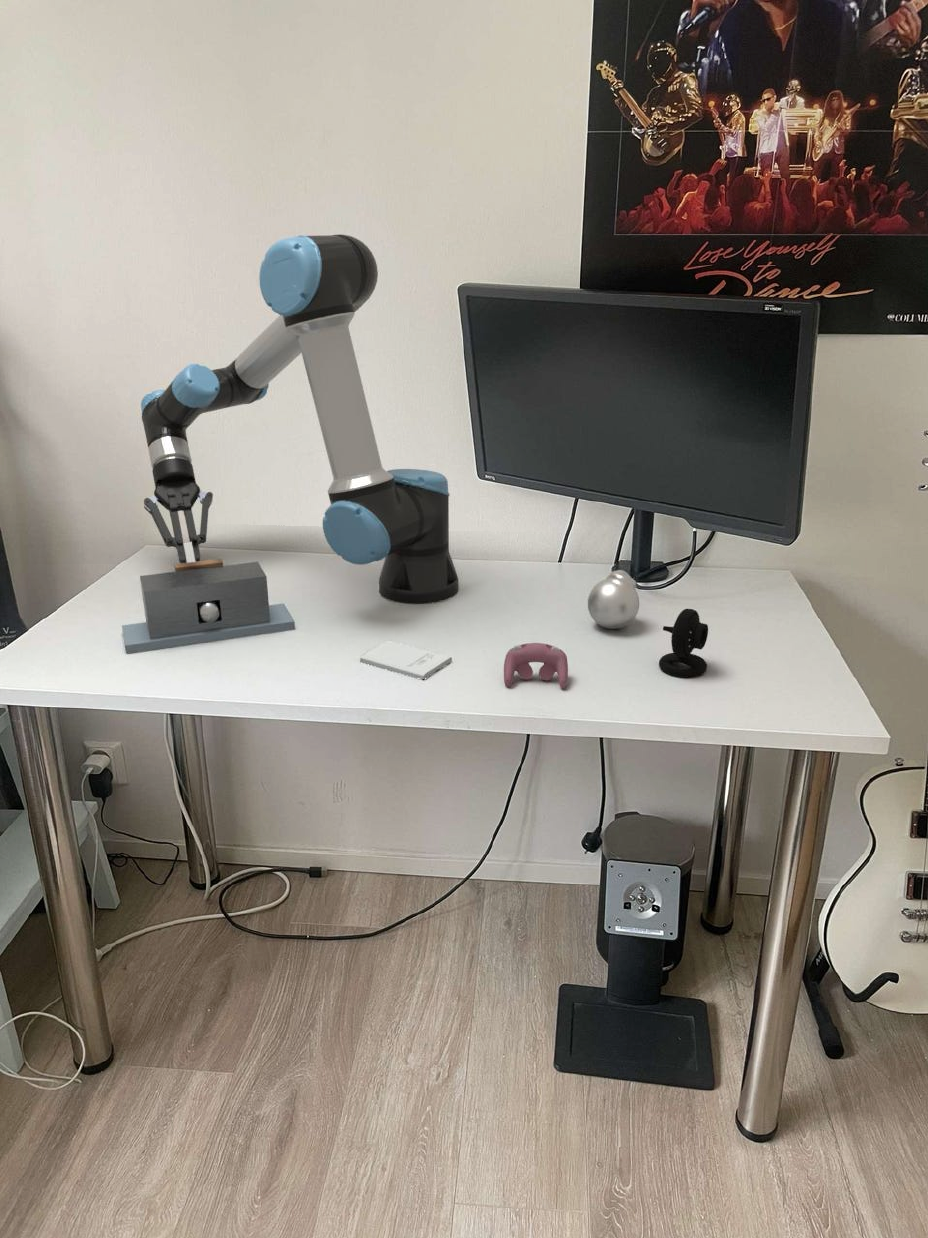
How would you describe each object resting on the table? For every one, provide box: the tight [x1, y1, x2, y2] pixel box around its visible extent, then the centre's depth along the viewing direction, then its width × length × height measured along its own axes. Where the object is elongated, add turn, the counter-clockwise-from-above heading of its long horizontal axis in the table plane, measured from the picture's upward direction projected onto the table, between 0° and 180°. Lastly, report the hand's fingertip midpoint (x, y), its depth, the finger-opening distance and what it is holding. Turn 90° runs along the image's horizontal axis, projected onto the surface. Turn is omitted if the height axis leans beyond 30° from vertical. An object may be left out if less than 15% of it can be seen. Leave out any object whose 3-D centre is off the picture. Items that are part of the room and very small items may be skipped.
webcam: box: [658, 608, 709, 679], centre depth 158 cm, size 8×8×10 cm
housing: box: [121, 561, 296, 655], centre depth 173 cm, size 28×9×10 cm, turn 111°
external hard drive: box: [359, 639, 453, 680], centre depth 163 cm, size 2×8×12 cm
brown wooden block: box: [173, 558, 224, 622], centre depth 173 cm, size 8×12×10 cm
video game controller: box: [503, 642, 569, 690], centre depth 155 cm, size 10×5×7 cm, turn 85°
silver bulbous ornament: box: [587, 569, 640, 630], centre depth 174 cm, size 9×10×10 cm
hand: (193, 576), depth 185 cm, fingers closed
